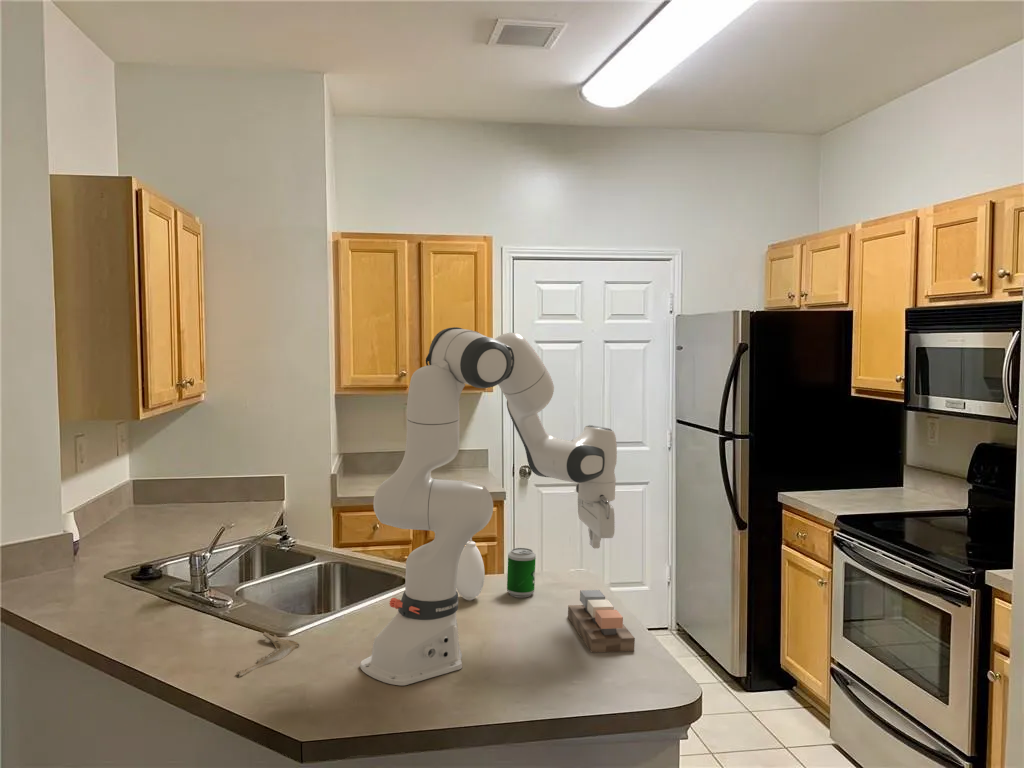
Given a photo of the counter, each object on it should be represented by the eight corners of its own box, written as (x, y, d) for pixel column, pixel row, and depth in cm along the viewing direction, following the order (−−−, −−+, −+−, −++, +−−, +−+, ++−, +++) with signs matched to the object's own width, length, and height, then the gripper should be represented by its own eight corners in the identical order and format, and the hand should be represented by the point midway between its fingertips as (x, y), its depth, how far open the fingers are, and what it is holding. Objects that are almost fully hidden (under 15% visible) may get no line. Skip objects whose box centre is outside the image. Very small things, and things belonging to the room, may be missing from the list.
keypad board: (634, 651, 179) (634, 638, 178) (591, 652, 177) (592, 639, 177) (606, 615, 200) (606, 604, 200) (567, 616, 198) (568, 605, 198)
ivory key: (612, 630, 186) (613, 606, 186) (592, 630, 186) (593, 607, 185) (606, 622, 191) (607, 599, 191) (586, 623, 190) (587, 599, 190)
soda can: (531, 600, 210) (533, 555, 209) (504, 597, 212) (505, 553, 211) (536, 591, 217) (538, 548, 217) (509, 588, 219) (511, 545, 218)
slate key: (604, 619, 193) (605, 596, 193) (584, 619, 192) (585, 597, 192) (598, 612, 198) (599, 589, 198) (579, 612, 197) (580, 590, 197)
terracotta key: (621, 641, 180) (623, 617, 179) (600, 642, 179) (601, 618, 178) (615, 633, 184) (616, 609, 184) (594, 634, 184) (595, 610, 183)
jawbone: (303, 643, 179) (304, 634, 179) (279, 684, 159) (280, 675, 159) (263, 639, 179) (263, 630, 179) (234, 680, 158) (235, 670, 158)
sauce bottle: (482, 604, 205) (485, 536, 204) (452, 603, 205) (455, 535, 204) (484, 594, 213) (486, 529, 212) (455, 593, 213) (457, 528, 212)
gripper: (622, 500, 183) (619, 558, 184) (597, 483, 204) (595, 535, 205) (596, 500, 182) (593, 559, 183) (574, 483, 202) (572, 536, 203)
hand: (594, 546), depth 194 cm, fingers closed
